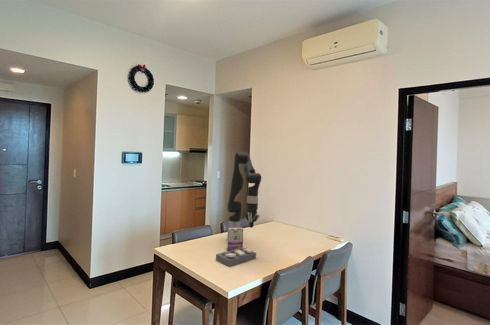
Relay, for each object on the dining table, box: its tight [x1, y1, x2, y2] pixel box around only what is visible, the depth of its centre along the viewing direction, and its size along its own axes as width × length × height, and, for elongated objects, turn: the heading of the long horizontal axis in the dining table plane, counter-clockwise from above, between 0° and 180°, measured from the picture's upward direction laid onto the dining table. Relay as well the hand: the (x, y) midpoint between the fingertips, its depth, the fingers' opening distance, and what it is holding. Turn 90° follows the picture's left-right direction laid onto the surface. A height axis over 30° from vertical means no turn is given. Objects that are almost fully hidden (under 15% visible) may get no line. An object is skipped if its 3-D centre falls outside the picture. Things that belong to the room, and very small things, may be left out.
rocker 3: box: [243, 247, 254, 253], centre depth 190 cm, size 6×4×2 cm, turn 44°
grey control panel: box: [215, 247, 257, 268], centre depth 186 cm, size 14×24×4 cm, turn 134°
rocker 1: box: [225, 253, 236, 257], centre depth 179 cm, size 6×4×2 cm, turn 44°
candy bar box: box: [226, 227, 244, 251], centre depth 205 cm, size 11×5×16 cm, turn 101°
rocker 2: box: [234, 249, 245, 256], centre depth 184 cm, size 6×4×2 cm, turn 44°
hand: (251, 227), depth 187 cm, fingers closed
